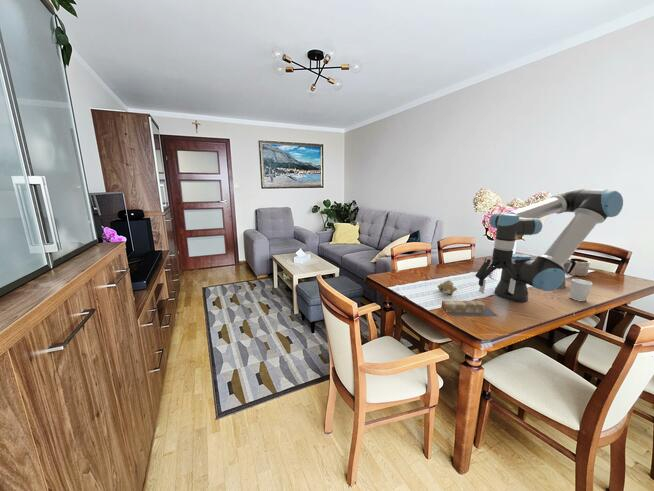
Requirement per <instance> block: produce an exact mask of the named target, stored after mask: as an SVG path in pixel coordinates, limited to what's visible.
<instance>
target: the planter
mask: <svg viewBox="0 0 654 491" xmlns="http://www.w3.org/2000/svg"><path fill="white" fill-rule="evenodd" d="M568 260H574V261H575V262H576V265H575V266H574V268H573V270H572V271H571V273H569V274H568V275H571V274H574V275H573V276H575V275H578V276H577V277H587V275H588V273H589V269H590V264H591V261H590V260H588V259H584V258H578V257H570V258H569V259H568ZM571 265H572V263H571V264H570V266H569V268H568V270H567V272H568V271H569V269H570V267H571Z"/></svg>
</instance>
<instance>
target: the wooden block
mask: <svg viewBox="0 0 654 491" xmlns="http://www.w3.org/2000/svg"><path fill="white" fill-rule="evenodd" d="M484 305H485V304H484V303H483V302H482V301H480V300H441V307H440V308H441V310H442V311H443V312H444V313H450V312H477V313H483V311H484Z"/></svg>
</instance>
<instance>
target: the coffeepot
mask: <svg viewBox="0 0 654 491" xmlns="http://www.w3.org/2000/svg"><path fill="white" fill-rule="evenodd" d="M571 263H572V265H571V267H570V269H569V271H568V272H567V270H568V268H569V266H570V264H571ZM575 265H576V262H575V261H574V260H567V261H566V263H565V264H564V269H565V270H564V271H563V272H564V274H565V275H566V274H568V273H571V271H572V270H573V268H574V266H575ZM559 287H563V288H566V277H565V278H564V282H563V283H562V284H561V286H559ZM559 287H558V288H559Z"/></svg>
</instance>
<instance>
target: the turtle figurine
mask: <svg viewBox="0 0 654 491" xmlns="http://www.w3.org/2000/svg"><path fill="white" fill-rule="evenodd" d="M437 288H438V290H439V291H440V292H442V291H445V292H446V294H448V295H452V296H453V293H454V292H455V291H457V290H458V288H457V287H455V285H454V283H453V282H452V281H451V280H450V279H449V280H448V279H447V280H446V281H444V282H442V283H440V284H439V285H437Z"/></svg>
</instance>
